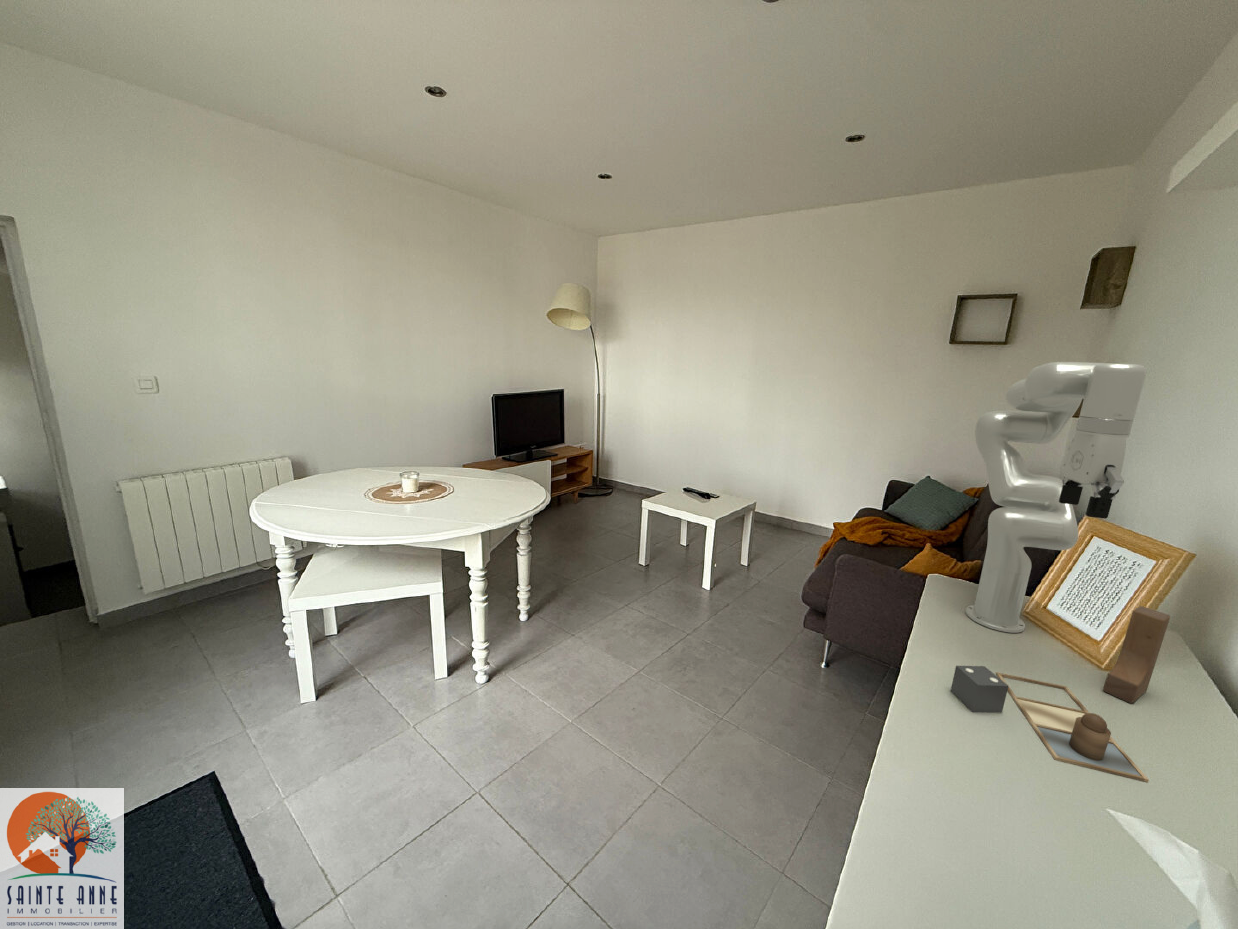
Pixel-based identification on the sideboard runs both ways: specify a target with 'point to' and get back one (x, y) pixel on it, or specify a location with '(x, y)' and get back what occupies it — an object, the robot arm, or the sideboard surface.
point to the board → (1069, 733)
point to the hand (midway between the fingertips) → (1081, 510)
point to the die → (979, 689)
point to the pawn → (1090, 736)
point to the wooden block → (1137, 655)
